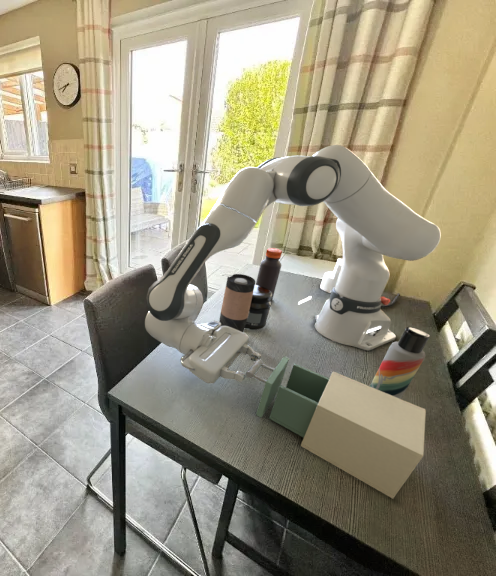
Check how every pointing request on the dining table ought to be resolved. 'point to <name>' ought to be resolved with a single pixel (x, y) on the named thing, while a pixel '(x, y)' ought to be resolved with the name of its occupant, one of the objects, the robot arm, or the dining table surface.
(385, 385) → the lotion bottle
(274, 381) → the green pull-out drawer
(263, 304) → the supplement container
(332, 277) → the cylinder with rectangular tab
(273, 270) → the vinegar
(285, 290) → the dining table surface
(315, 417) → the matchbox drawer box
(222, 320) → the travel mug
